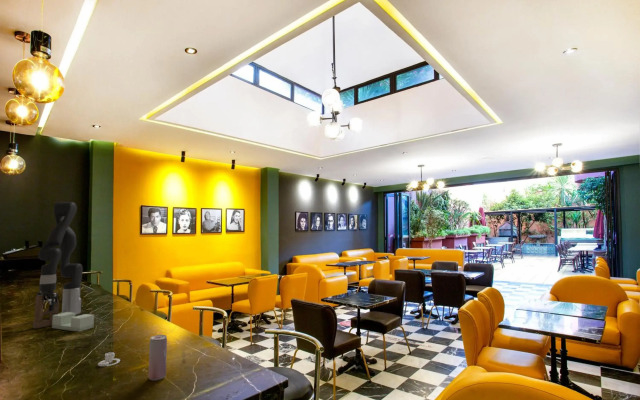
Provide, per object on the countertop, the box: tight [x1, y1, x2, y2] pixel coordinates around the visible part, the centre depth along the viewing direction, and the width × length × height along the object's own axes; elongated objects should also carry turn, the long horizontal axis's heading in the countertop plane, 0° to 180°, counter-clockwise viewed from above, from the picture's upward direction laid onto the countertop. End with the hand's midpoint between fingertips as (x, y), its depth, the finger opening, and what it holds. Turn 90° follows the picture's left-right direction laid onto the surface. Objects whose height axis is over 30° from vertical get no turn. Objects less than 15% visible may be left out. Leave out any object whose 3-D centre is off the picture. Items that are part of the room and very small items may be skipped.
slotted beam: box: [51, 312, 95, 332], centre depth 191 cm, size 8×22×7 cm, turn 71°
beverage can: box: [148, 334, 168, 382], centre depth 127 cm, size 6×6×15 cm
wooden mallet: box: [32, 295, 60, 329], centre depth 194 cm, size 4×11×18 cm, turn 139°
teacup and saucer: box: [97, 351, 121, 367], centre depth 141 cm, size 9×8×4 cm
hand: (46, 310), depth 194 cm, fingers open, 8 cm apart
